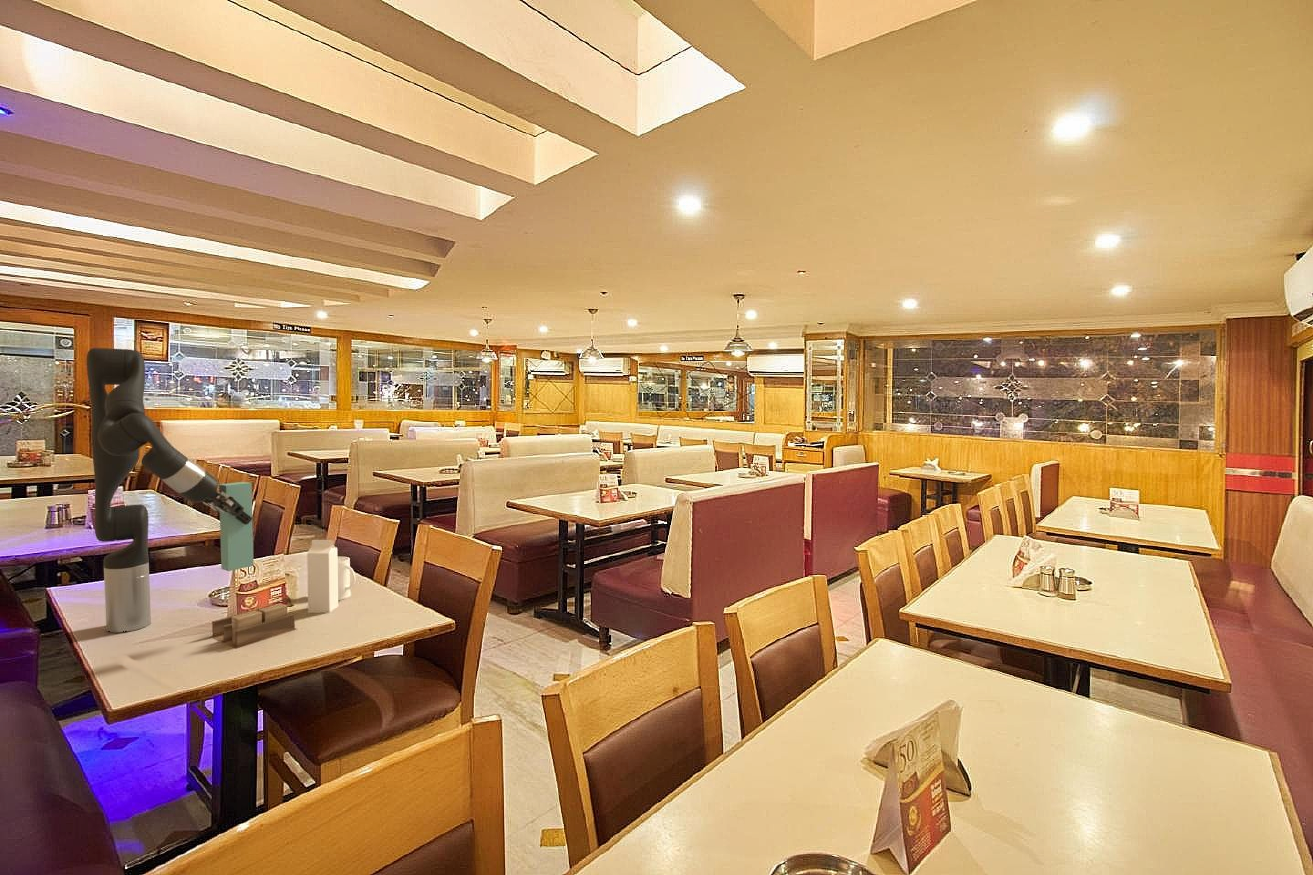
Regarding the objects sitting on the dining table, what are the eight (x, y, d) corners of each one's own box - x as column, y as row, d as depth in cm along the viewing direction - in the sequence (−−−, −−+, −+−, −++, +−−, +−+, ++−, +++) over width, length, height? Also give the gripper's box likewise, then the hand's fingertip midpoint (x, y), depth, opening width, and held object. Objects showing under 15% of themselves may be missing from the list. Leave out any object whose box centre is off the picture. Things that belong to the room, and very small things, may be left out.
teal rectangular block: (221, 568, 158) (219, 484, 156) (246, 563, 163) (244, 481, 161) (228, 571, 156) (226, 485, 155) (253, 565, 161) (251, 482, 160)
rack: (210, 642, 158) (209, 621, 157) (270, 624, 171) (270, 604, 170) (236, 654, 151) (235, 632, 151) (297, 634, 164) (297, 614, 164)
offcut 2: (259, 633, 160) (258, 609, 160) (281, 626, 165) (280, 603, 165) (265, 636, 159) (265, 611, 158) (287, 629, 164) (287, 605, 163)
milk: (317, 610, 182) (316, 537, 181) (338, 610, 183) (337, 537, 181) (307, 617, 176) (306, 542, 175) (329, 617, 177) (328, 542, 175)
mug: (364, 596, 195) (364, 559, 194) (341, 604, 187) (341, 566, 186) (337, 590, 200) (337, 554, 199) (314, 598, 192) (313, 561, 191)
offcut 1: (232, 641, 155) (231, 616, 154) (256, 634, 160) (255, 610, 159) (238, 644, 153) (238, 619, 153) (262, 637, 158) (261, 612, 158)
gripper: (216, 470, 148) (270, 512, 159) (187, 465, 155) (241, 506, 166) (192, 495, 143) (248, 536, 155) (163, 489, 150) (219, 529, 162)
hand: (244, 520), depth 160 cm, fingers closed on teal rectangular block, 3 cm apart
